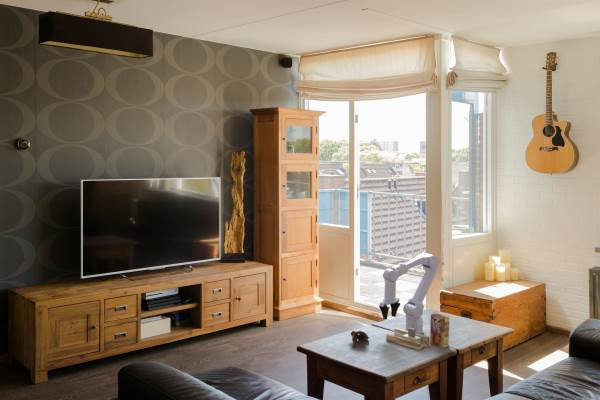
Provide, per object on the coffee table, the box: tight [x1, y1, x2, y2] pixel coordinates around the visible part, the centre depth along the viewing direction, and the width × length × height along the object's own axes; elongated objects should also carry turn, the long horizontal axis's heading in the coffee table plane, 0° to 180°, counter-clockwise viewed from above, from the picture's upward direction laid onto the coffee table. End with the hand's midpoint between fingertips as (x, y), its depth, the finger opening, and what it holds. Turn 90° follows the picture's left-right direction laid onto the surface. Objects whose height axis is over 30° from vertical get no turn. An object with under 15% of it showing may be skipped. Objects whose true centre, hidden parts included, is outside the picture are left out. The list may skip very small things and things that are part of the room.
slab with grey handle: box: [402, 328, 421, 343], centre depth 292 cm, size 4×8×7 cm, turn 48°
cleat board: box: [385, 327, 430, 351], centre depth 294 cm, size 9×20×4 cm, turn 45°
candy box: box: [429, 312, 450, 349], centre depth 291 cm, size 9×4×15 cm, turn 39°
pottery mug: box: [350, 330, 370, 348], centre depth 291 cm, size 12×10×8 cm
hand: (389, 317), depth 303 cm, fingers open, 7 cm apart
